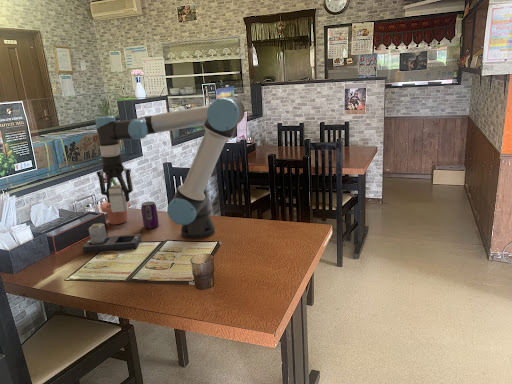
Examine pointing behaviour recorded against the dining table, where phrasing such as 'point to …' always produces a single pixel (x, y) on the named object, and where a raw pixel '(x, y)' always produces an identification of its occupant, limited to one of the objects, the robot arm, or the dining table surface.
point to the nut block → (117, 198)
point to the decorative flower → (114, 216)
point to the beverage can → (149, 215)
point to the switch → (109, 241)
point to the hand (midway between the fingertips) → (120, 209)
